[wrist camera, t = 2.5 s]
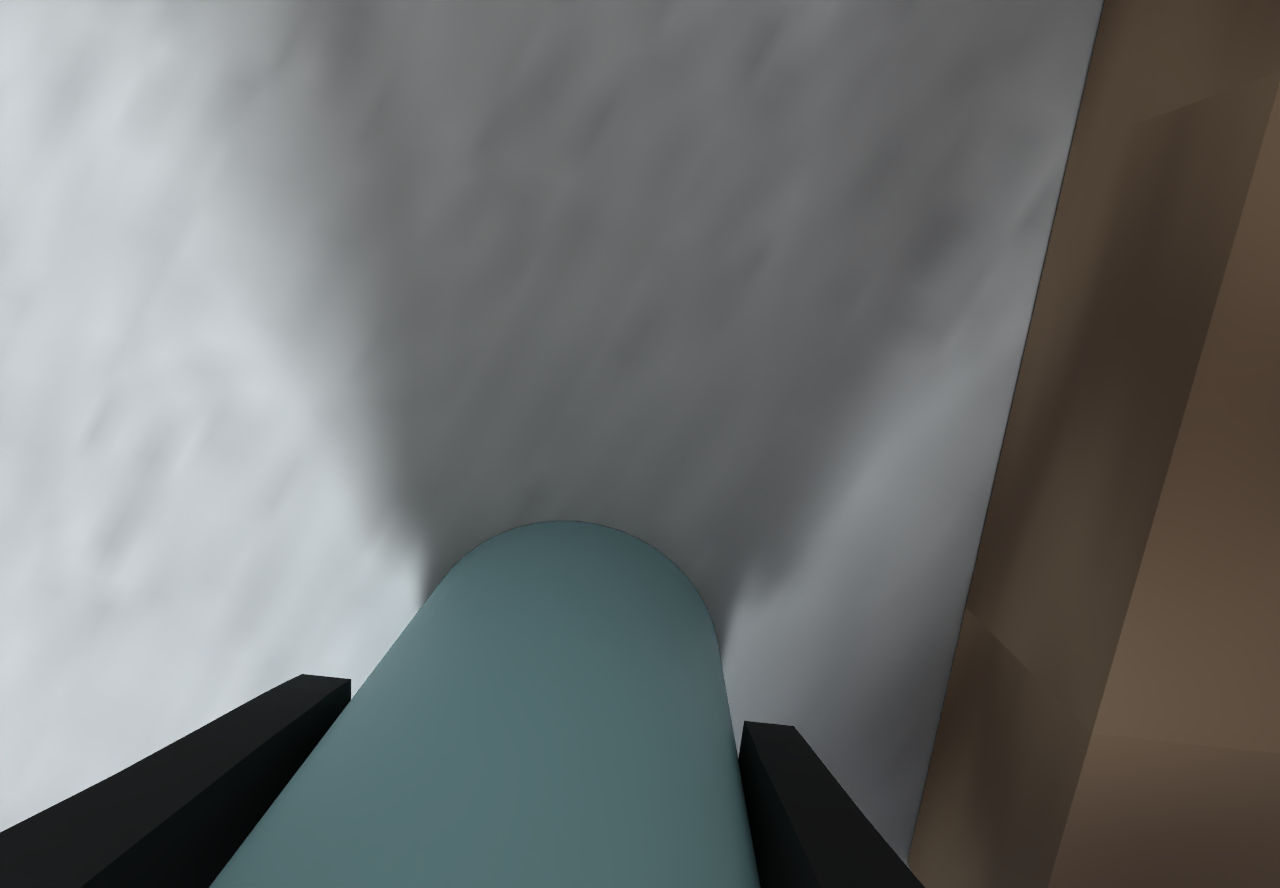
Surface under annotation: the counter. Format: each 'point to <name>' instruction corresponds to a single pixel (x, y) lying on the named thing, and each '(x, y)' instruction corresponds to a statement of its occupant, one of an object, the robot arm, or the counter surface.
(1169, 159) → the walnut well block
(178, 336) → the counter surface
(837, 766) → the counter surface
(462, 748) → the teal peg
